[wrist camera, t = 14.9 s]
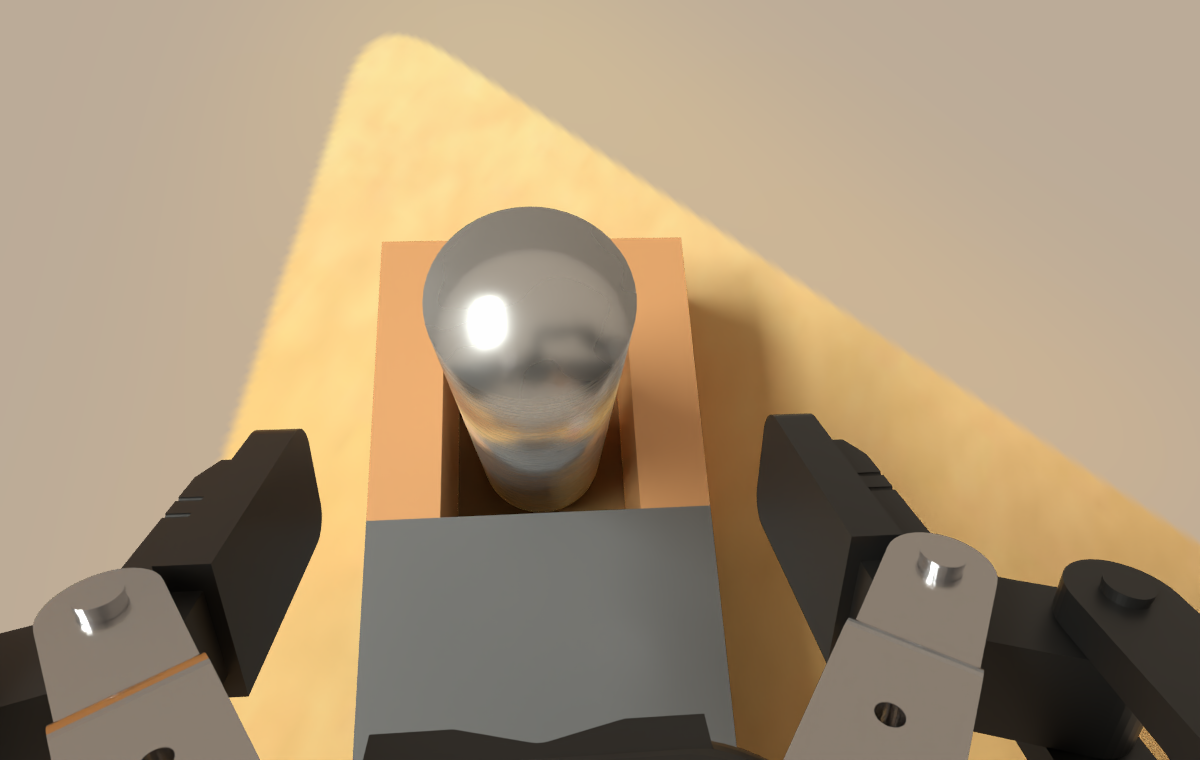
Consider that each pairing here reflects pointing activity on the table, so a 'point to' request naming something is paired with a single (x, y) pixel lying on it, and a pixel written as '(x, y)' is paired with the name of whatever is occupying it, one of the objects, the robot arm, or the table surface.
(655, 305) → the socket block
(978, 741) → the table surface
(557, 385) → the silver metal cylinder
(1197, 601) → the table surface
